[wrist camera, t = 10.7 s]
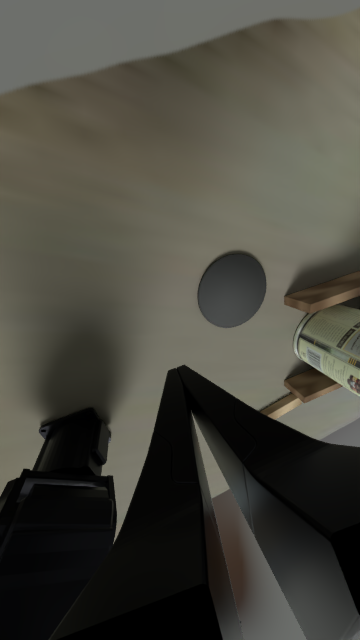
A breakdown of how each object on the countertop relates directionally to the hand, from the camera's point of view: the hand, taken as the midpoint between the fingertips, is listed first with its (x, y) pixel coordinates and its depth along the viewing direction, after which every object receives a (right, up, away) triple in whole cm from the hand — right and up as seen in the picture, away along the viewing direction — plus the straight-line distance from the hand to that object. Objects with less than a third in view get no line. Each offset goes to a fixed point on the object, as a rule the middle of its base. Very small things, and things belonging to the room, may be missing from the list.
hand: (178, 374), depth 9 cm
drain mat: (+7, +6, +14) cm, 16 cm away
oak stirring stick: (+15, -14, +25) cm, 32 cm away
